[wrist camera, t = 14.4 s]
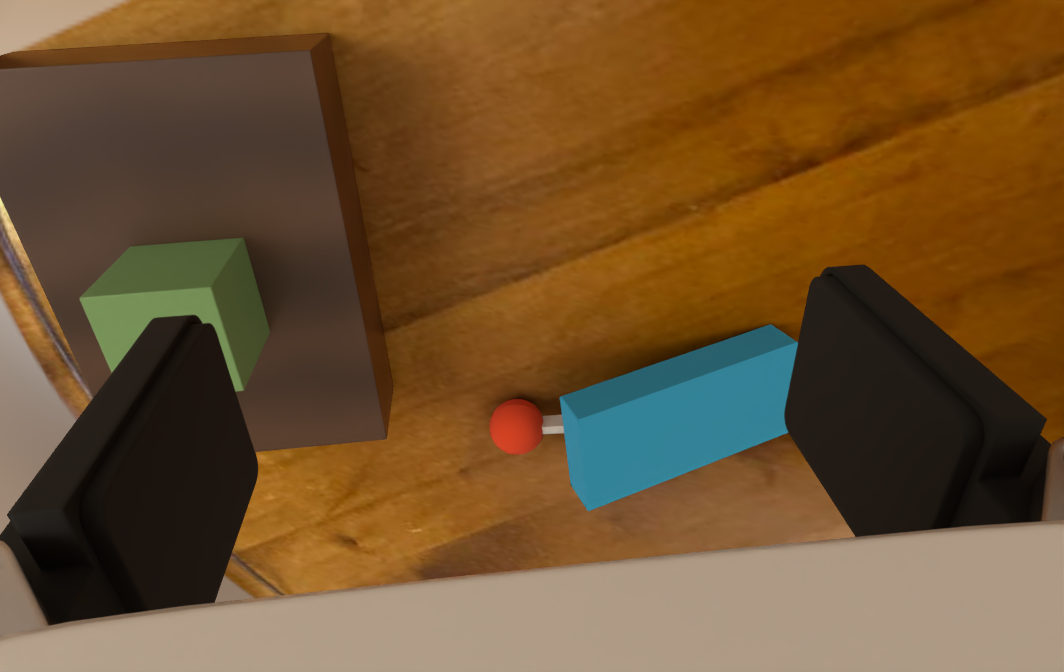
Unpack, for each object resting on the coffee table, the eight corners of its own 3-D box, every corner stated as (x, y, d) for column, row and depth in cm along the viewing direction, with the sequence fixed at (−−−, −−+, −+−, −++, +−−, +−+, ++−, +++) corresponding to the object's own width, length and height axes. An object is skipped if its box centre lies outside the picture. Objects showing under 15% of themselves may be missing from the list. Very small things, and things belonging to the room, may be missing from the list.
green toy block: (129, 245, 31) (78, 298, 26) (243, 237, 31) (210, 287, 27) (165, 340, 33) (123, 402, 29) (270, 331, 34) (244, 391, 29)
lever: (727, 293, 46) (473, 375, 42) (798, 341, 40) (513, 442, 36) (724, 377, 50) (491, 461, 45) (789, 431, 44) (529, 534, 39)
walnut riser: (12, 51, 31) (-59, 72, 26) (329, 32, 32) (310, 49, 27) (158, 408, 41) (124, 464, 37) (393, 387, 42) (387, 439, 38)
